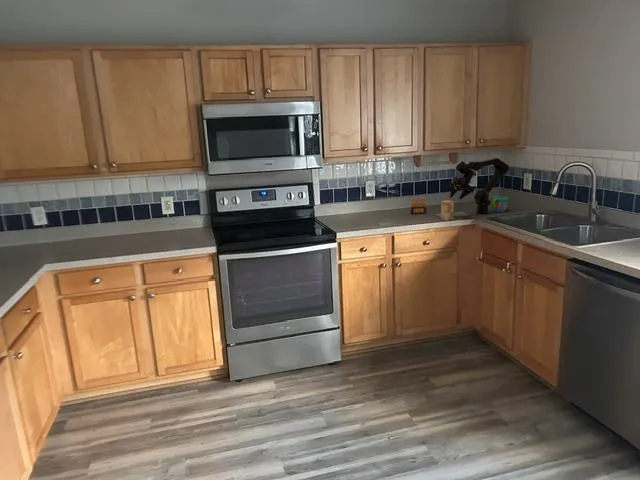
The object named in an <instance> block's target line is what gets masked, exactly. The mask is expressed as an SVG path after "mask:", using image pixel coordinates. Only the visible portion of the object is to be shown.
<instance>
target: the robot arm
mask: <svg viewBox="0 0 640 480" xmlns="http://www.w3.org/2000/svg"><path fill="white" fill-rule="evenodd" d="M488 166H493V168H494V173H493V174H492V176H491V177H490V179H489V180H488V181H487V183H486V184H485V185H484V187H483V188H482V189H478V190H477V192H476V193H474V192H475V188H474V187H473V186H471V183H472V179H473V177H477V176H478V175H477V172H476V171H479V170H481V169H482V168H485V167H488ZM509 166H510V165H509V164H507V163H506V162H504V161H502V160H501V159H500V158H498V157H492V158H489V159H484V160H480V161H477V160H476V161H475V160H471V161H469V162H468V163H467V164H466V162H465V161H460V162H459V163H458V164H456V166H455V170H457V172H459V174H461V175H462V176H459V177H458V176H453V178H452V182H450V183H449V184H448V186H449V188H450V194H449V198H453V197H454V196H455V194H457V192H458V191H459V189H462V191H461V194H460V195H459V198H458V199H459V200H462V199H464V198H465V197H467V196H469V195H470V194H473V193H474V201H475V204H476V212H475V213H476V214H479V215H486V214H487V215H488V214H490V212H489V205H491V201H490V199H489V197H490V196H489V195H490V192H492V190H493V188H494V187H495V185H497V183H498V181H499V180H500V179H501V177H503V176H505V175H506V174H507V173H508V172H509V170H510V167H509Z"/></svg>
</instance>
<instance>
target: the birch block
mask: <svg viewBox="0 0 640 480" xmlns="http://www.w3.org/2000/svg"><path fill="white" fill-rule="evenodd" d="M454 204H455V203H454V201H452V200H449V199H448V200H441V201H440V214H441V218H440V220H443V221H446V222H447V221H452V220H453V221H454V217H453V213H454Z"/></svg>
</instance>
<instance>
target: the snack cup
mask: <svg viewBox="0 0 640 480" xmlns="http://www.w3.org/2000/svg"><path fill="white" fill-rule="evenodd" d="M491 199H492V201H491V208H493V211H494V212H497V213H503V212H506V209H507V206H508V205H509V196H506V195H493V196H492V197H491Z"/></svg>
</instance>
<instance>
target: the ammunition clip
mask: <svg viewBox="0 0 640 480" xmlns="http://www.w3.org/2000/svg"><path fill="white" fill-rule="evenodd" d="M426 201H427V200H426V197H425V196H424V197H423V196H421V197H420V196H419V197H411V201H410V215H426V214H427V202H426Z"/></svg>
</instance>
